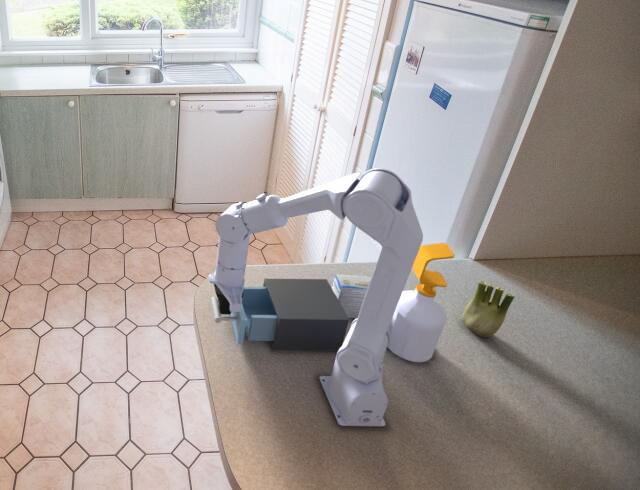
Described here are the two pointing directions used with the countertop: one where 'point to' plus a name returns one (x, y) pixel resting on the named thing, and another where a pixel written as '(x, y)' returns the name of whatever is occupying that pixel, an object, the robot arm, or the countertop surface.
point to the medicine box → (351, 292)
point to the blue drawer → (251, 315)
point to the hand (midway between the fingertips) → (224, 312)
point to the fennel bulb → (486, 310)
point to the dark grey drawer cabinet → (306, 315)
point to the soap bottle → (420, 309)
